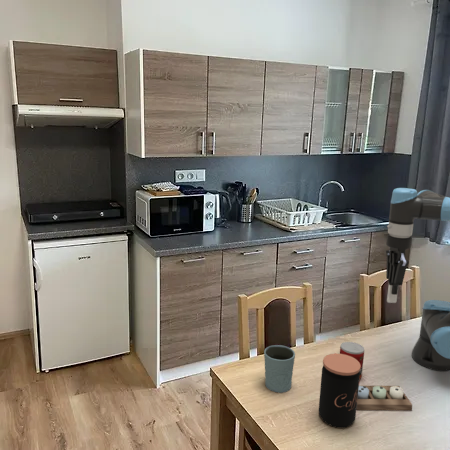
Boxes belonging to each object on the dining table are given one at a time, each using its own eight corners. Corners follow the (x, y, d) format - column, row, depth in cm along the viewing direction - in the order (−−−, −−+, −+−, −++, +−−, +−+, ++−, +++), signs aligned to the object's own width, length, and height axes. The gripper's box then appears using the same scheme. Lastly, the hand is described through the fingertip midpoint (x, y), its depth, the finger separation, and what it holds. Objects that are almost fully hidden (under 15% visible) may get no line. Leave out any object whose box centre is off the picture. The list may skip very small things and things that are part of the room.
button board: (398, 391, 145) (399, 385, 144) (411, 410, 135) (412, 404, 135) (347, 390, 144) (347, 385, 144) (356, 410, 135) (357, 404, 134)
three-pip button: (365, 394, 141) (366, 385, 141) (369, 402, 137) (370, 392, 137) (353, 394, 141) (354, 385, 140) (357, 402, 137) (358, 392, 137)
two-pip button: (382, 394, 142) (383, 385, 141) (387, 402, 138) (388, 392, 137) (370, 394, 141) (371, 385, 141) (374, 402, 138) (375, 392, 137)
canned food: (362, 383, 149) (365, 353, 146) (338, 380, 150) (341, 350, 148) (360, 371, 156) (363, 343, 154) (337, 368, 158) (339, 340, 155)
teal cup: (281, 397, 140) (283, 363, 137) (256, 384, 146) (257, 352, 144) (298, 384, 147) (301, 352, 144) (274, 372, 154) (276, 341, 151)
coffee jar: (332, 433, 124) (338, 376, 120) (311, 410, 134) (315, 357, 130) (362, 424, 128) (369, 368, 124) (339, 402, 138) (344, 350, 134)
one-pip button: (399, 395, 142) (400, 385, 141) (404, 402, 138) (405, 393, 137) (387, 394, 142) (388, 385, 141) (391, 402, 138) (393, 392, 137)
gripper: (380, 230, 152) (373, 294, 157) (396, 240, 139) (387, 309, 144) (402, 230, 152) (394, 294, 157) (419, 240, 139) (410, 309, 144)
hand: (391, 301), depth 151 cm, fingers closed
